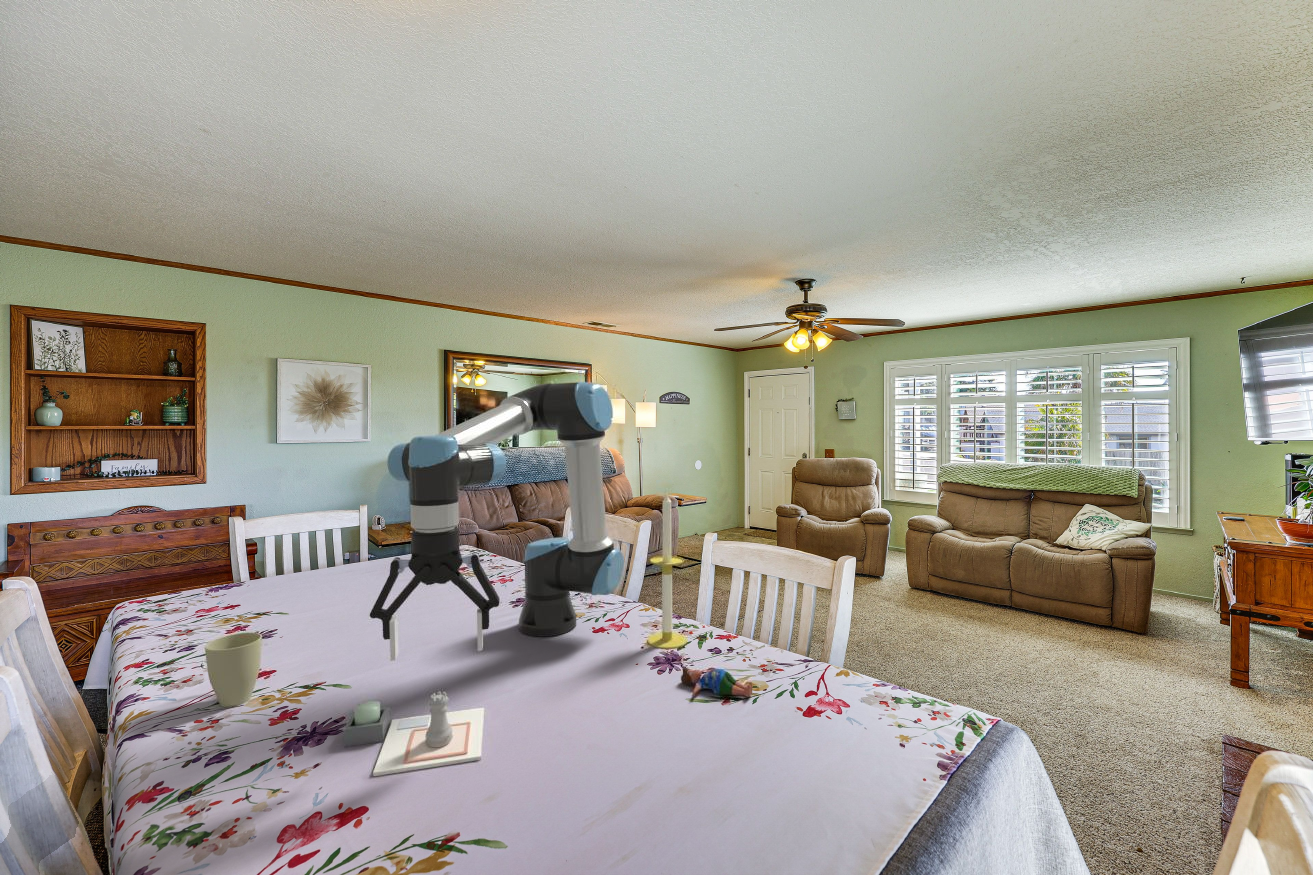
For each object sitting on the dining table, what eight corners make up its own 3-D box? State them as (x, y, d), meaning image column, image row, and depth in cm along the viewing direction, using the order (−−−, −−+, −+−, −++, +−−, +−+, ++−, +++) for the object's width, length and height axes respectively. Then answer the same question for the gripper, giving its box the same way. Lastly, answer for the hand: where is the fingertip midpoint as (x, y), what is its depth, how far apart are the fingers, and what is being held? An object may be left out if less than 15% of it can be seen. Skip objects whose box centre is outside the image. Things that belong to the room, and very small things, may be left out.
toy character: (742, 689, 106) (669, 674, 113) (741, 714, 107) (669, 697, 113) (759, 663, 118) (692, 650, 124) (758, 685, 118) (692, 671, 124)
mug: (278, 691, 115) (277, 633, 114) (227, 715, 106) (226, 652, 105) (241, 683, 118) (239, 627, 118) (188, 706, 109) (186, 645, 109)
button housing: (389, 723, 103) (389, 706, 103) (382, 741, 97) (382, 724, 97) (353, 727, 101) (353, 711, 101) (344, 746, 96) (343, 729, 95)
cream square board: (484, 710, 107) (484, 705, 107) (480, 759, 92) (480, 754, 92) (392, 722, 103) (392, 717, 103) (373, 776, 88) (373, 770, 88)
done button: (382, 718, 102) (382, 699, 101) (377, 730, 98) (377, 710, 98) (357, 721, 101) (357, 702, 100) (352, 733, 97) (351, 713, 97)
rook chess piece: (429, 734, 98) (428, 689, 97) (456, 733, 98) (455, 687, 98) (421, 749, 93) (420, 702, 93) (449, 748, 94) (448, 700, 93)
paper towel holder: (695, 640, 141) (695, 490, 140) (668, 652, 134) (668, 495, 132) (665, 629, 148) (665, 487, 146) (638, 641, 140) (638, 491, 139)
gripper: (511, 519, 101) (513, 635, 102) (358, 527, 95) (362, 651, 96) (512, 527, 94) (514, 652, 95) (346, 537, 88) (350, 671, 88)
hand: (438, 652), depth 95 cm, fingers open, 13 cm apart
